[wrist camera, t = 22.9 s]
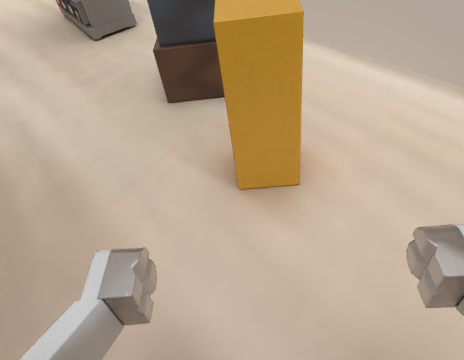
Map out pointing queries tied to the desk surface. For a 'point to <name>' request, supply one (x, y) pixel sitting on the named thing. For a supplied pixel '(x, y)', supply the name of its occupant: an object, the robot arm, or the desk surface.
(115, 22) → the tall grey box
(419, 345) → the desk surface
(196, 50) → the tower
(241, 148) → the bar
